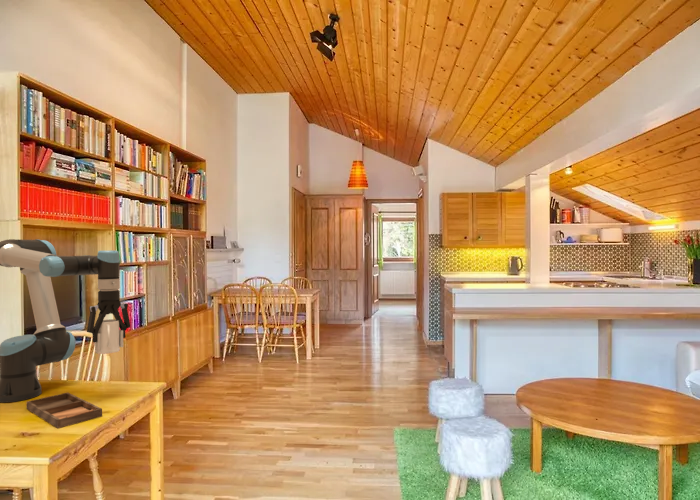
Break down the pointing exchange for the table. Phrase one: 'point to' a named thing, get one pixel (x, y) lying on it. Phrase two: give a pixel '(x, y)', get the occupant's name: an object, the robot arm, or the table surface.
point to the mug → (109, 337)
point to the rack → (64, 409)
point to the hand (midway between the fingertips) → (109, 348)
